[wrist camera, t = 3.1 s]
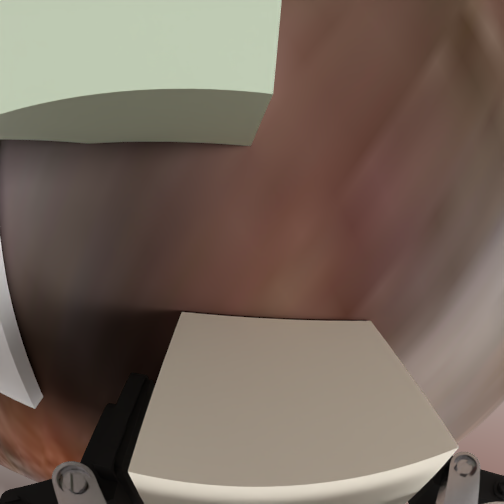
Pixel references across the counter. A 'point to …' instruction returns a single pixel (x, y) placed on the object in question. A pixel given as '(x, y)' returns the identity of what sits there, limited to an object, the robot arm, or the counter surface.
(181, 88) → the sage block
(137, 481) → the cream block
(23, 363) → the plate
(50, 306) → the counter surface
